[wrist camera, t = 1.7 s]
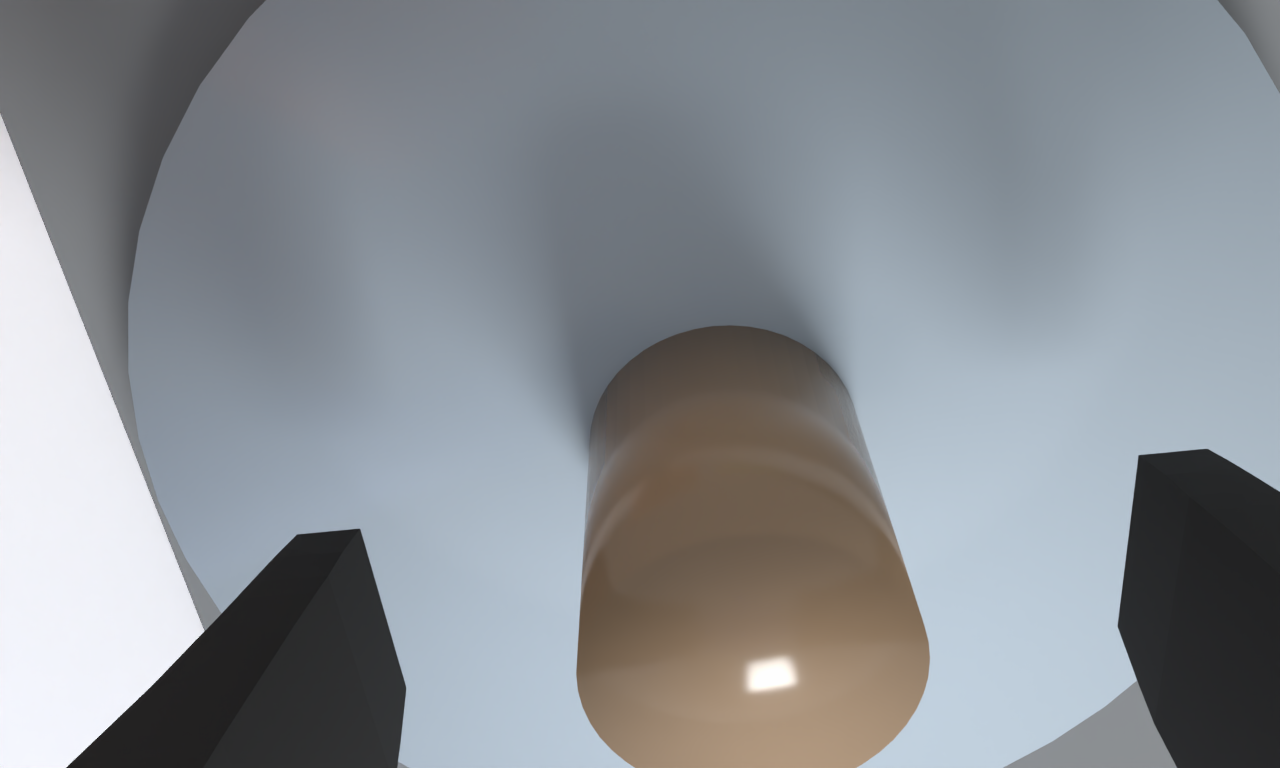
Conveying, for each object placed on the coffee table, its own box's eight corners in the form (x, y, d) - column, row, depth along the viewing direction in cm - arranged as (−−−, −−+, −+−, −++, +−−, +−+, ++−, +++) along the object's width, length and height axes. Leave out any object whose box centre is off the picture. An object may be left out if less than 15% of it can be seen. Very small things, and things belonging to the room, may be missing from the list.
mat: (297, 828, 18) (291, 849, 18) (-88, -175, 11) (-111, -171, 11) (1226, 748, 17) (1238, 771, 17) (1447, -372, 10) (1476, -374, 10)
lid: (317, 824, 17) (228, 1139, 13) (-34, -117, 11) (-397, -23, 7) (1209, 750, 17) (1381, 1058, 13) (1402, -301, 10) (1866, -310, 6)
